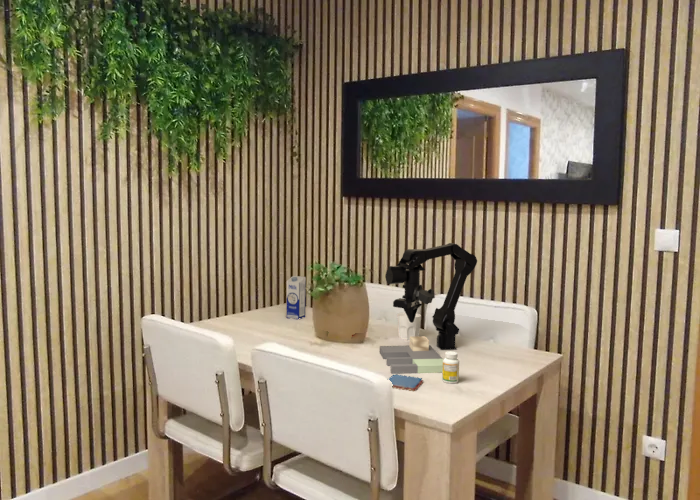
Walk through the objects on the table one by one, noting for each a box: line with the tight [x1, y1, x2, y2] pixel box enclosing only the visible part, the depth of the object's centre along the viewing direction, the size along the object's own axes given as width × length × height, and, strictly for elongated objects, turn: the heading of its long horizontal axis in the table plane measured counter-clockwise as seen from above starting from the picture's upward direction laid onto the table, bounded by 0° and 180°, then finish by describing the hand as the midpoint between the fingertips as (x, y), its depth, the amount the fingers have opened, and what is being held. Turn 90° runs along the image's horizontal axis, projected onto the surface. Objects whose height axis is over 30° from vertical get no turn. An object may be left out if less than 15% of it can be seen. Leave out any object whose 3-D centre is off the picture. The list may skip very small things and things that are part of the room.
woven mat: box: [388, 374, 424, 392], centre depth 187 cm, size 10×11×2 cm
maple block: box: [409, 335, 430, 351], centre depth 220 cm, size 6×6×4 cm
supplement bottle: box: [441, 350, 460, 385], centre depth 191 cm, size 5×5×10 cm
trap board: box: [379, 344, 444, 375], centre depth 212 cm, size 20×26×2 cm
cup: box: [396, 312, 422, 341], centre depth 246 cm, size 10×10×10 cm
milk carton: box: [286, 275, 307, 320], centre depth 280 cm, size 7×7×20 cm
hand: (411, 322), depth 223 cm, fingers closed
